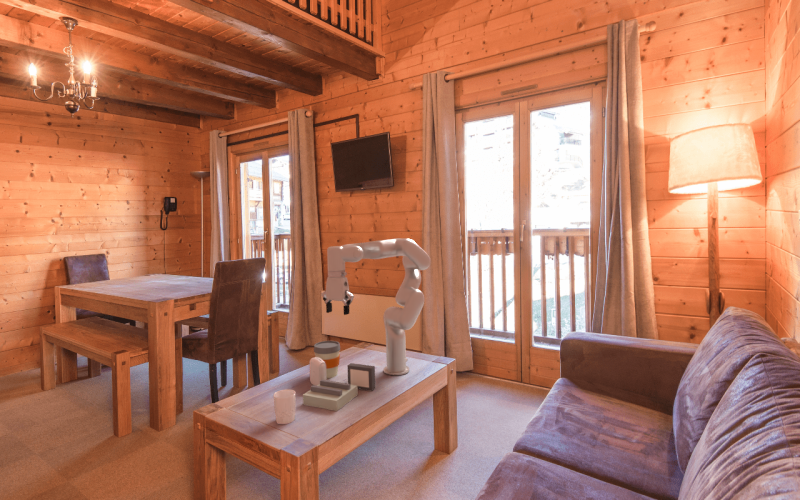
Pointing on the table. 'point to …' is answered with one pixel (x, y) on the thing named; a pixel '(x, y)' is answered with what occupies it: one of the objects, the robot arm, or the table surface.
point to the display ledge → (330, 395)
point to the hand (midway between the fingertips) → (337, 313)
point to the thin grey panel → (361, 376)
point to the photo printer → (317, 371)
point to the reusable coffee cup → (329, 356)
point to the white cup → (285, 406)
